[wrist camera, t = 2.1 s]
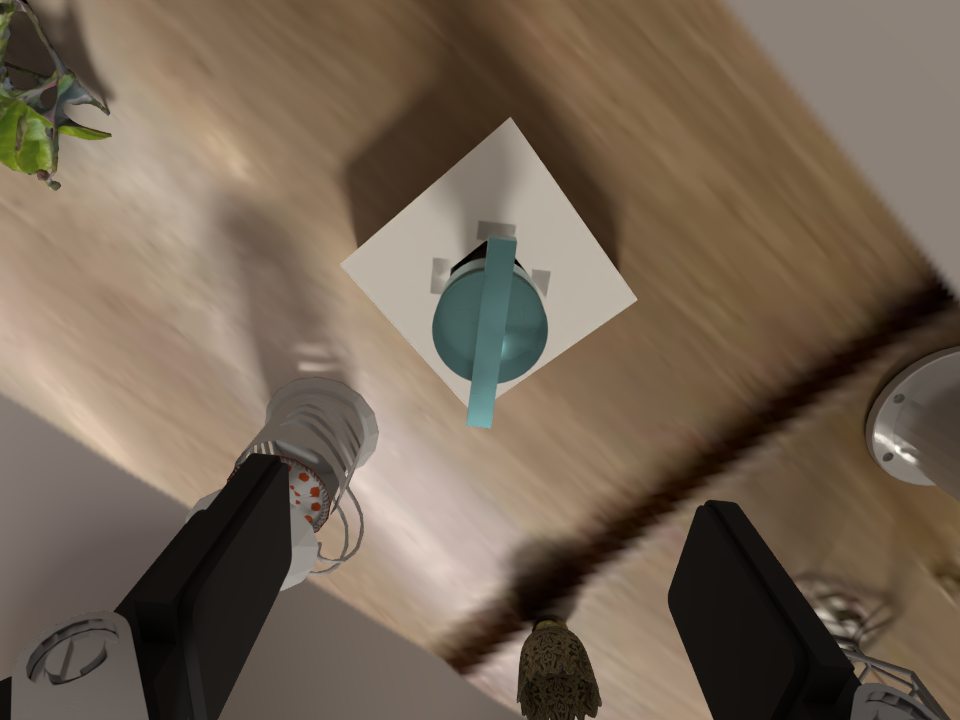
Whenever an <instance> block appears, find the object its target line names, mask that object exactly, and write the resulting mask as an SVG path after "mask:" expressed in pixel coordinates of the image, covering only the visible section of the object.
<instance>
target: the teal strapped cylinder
mask: <svg viewBox="0 0 960 720" xmlns="http://www.w3.org/2000/svg"><path fill="white" fill-rule="evenodd" d="M516 248H517V239H516V237H510V236H502V235H493V234H489V237H488V246H487V247H484V248H482V249H480V250H478V251H477V252H476V253H475V254H474V255H473V257H472V259H471V262H468V263H467V264H465V265H463V266H461V267H460V268H459V269H457V270H456V271H455V272H454V273H453V274H452V275H451V276H450V278H449V279H448V281H447V282H446V284H445V286H444V288H443V291H442V293H441V296H440V299H439V302H438V305H437V308H436V311H435V314H434V317H433V323H432V336H433V341H434V345H435V348H436V350H437V353H438V355H439V356H440V358H441V360H442V361H443V362H444V363H445V365H446V366H447V367H448V368H449V369H450V370H452V371H453V372H454V373H455V374H457V375H459V376H460V377H462V378H464V379H466V380H469V381H471V388H470V396H469V404H468V413H467V424H466V426H475V427H484V428H491V424H492V417H493V410H494V403H495V396H496V389H497V384H500V383H505V382H508V381H511V380H514V379H516V378H518V377H520V376H521V375H523V374H525V373H526V372H527V371H528V370H530V369H531V368H532V367H533V366H534V365H535V364H536V362H537V361H538V360H539V358H540V356H541V355H542V353H543V351H544V348H545V346H546V342H547V337H548V322H547V316H546V313H545V310H544V307H543V304H542V302H541V299H540V296H539V293H538V290H537V288H536V286H535V284H534V282H533V280H532V279H531V277H530V276H529V275H528V274H527V273H526V272H525V271H524V270H523V269H522V268H520V267H519V266H517V265H516V264H514V262H515V255H516Z"/></svg>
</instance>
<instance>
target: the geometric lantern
mask: <svg viewBox="0 0 960 720" xmlns="http://www.w3.org/2000/svg"><path fill="white" fill-rule="evenodd" d="M834 640H835V641H836V642H837V643H839V644H843V645H848V646H853V647H854V648H855V650H856V652H853V651H850V650H847V649H843V648H841V649H842V651H843V652H844V654H845V655H846V656H847V658H848V659H849V661H850V662H851V663H853V662H854V661H859V662H864V663H865V665H866V668H865V669H864V671H863V672H862V673H861V675H860V676H859V678H858V679H859V681H860V682H862V681H863V679H864V678H865V676H866V675H867V674H868V672H869V671H870V669H873V670H875V671H877V672H879V673H881V674H883V675H885V676H887V677H889V678H892V679H894V680H896V681H898V682H900V683H902V684H904V685H906V686H908V687H910V688H912V689H913V690H912V691H911V692H910V693H909V694H908V695H909V696H911V697H913V698H914V699H915V698H916V697H917V696H918V697H919V698H920V700H921V701H922V702H923V704H924V705H925V706H926V707H927V708H928V709H929V710H930V711H931V712H933V713H934V714H935V715H936V716H937V717H938V718H939V719H940V720H951V719H950V718H949V717H948V715H947V714H946V713H945V712H944V710H943V709H942V708H941V706H940V705H939V704H938V703H937V701H936V700H935V699H934V697H933V696H932V695H931V694H930V692H929V691H928V690H927V688H926V687H925V686H924V684H923V683H922V682H921V681H920V679H919V678H918V677H917V675H916V674H915V672H913V671H911V670H908V669H905V668H902V667H899V666H896V665H893V664H889V663H886V662H883V661H880V660H877V659H874V658H871V657H868V656H865V655H864V654H863V652H862V651H861V650H860V649H859V647H858V646H857V645H856V644H855V643H853V642H847V641H843V640H838V639H834ZM871 664H872V665H871ZM873 665H875V666H879V667H882V668H885V669H889V670H892V671H895V672H898V673H901V674H904V675H907V676H910V677H911V680H912V683H913V684H910V683H908V682H906V681H904V680H902V679H900V678H898V677H896V676H894V675H892V674H890V673H888V672H886V671H884V670H882V669H880V668H877V667H875V666H873Z"/></svg>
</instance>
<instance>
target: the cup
mask: <svg viewBox="0 0 960 720" xmlns="http://www.w3.org/2000/svg"><path fill="white" fill-rule="evenodd" d="M518 702H520V703H521V710H522V715H523V716H525V715H526V716H527V719H528V720H549V718H550V720H574V719H575V716H576V717H577V719H578V720H584V719H585V718H584V717H585V715H586V714H587V715H588V716H590V717H592V718H595V717H596V715H597V711H598V706H599V707H601V706H602V702H601V698H600V695H599V688H598V685H597V682H596V679H595V676H594V673H593V669H592V666H591V663H590V660H589V658H588V655H587V652H586V650H585V648H584V646H583V644H582V642H581V641H580V640H579V638H578V637H577V636H576V635H575V634H574V633H572V632H571V631H569V630H568V627H567V625H566V624H565V622H564V621H563V620H562V619H560V618H558V617H556V616H544V617H542V618H540V619H538V620H537V621H536V622H535V624H534V626H533V629H532V633H531V634H530V635H529V637H528V638H527V639H526V641H525V643H524V645H523V647H522V651H521V656H520V663H519V676H518V693H517V703H518Z"/></svg>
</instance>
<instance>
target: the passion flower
mask: <svg viewBox="0 0 960 720" xmlns="http://www.w3.org/2000/svg"><path fill="white" fill-rule="evenodd" d="M15 12H24V13H26V14H27V15H28V17H29V18H30V19H31V20H32V22H33V24H34V26H35V28H36V31H37V33H38V35H39V38H40V39H41V40H42V41H43V43H44V44H45V46H46V48H47V49H48V51H49V53H50V55H51V58H52V59H53V60H54V62H55V66H56V68H55V71H54V73H53V74H52V75H51V76H43V75H40V74H37V73H34V72H32V71H29V70H27V69H23V68H20V67H17V66H14V65H11V64H9V63H7V62H5V61H4V60H5V55H6V50H7V44H8V39H9V37H10V35H11V31H10V29H9V23H10V20H11V18H12V15H13V14H14V13H15ZM6 65H7V66H9V67H12V68H15V69H17V70H20V71H22V72H24V73H26V74H29V75H31V76H33V77H35V78H36V79H37V81H38V85H37V86H36V87H34V88H32V89H26V90H23V89H19V88H17V87H15V86H14V84H13V83H12V82H11V79H10V77H9V74H8V71H7V68H6ZM54 86H57V87H58V91H57V98H56V102H55V105H54V107H53V108H50V109H47V108H45V107H44V106H43V104H42V102H41V101H40V95H41V94H42V92H43V91H44V90H46V89H48V88H50V87H54ZM65 103H69V104H73V105H80V104H84V103H85V104H92V105H94V106H96V107H98V108H100V109H101V110H102V111H103V112H104V113H106V114H107V115H108V116H109V114H110V112H109V111H108V110H107V109H105V108H104V107H103V106H102V104H101V103H99V102H98V101H97V100H96V99H94V98H93V97H92V96H91V95H90V94H89V93H88V92H87V91H86V90H85V89H84V88H83V87H82V86H81V85H80V84H79V82H78V80H77V78H76V76H75V74H74V72H72V71H71V70H70V69H68V68H66V67H65V66H64V65H63V63H62V62H61V61H60V59H59V58H58V56H57V54H56V52H55V51H54V49H53V47H52V45H51V44H50V42H49V40H48V39H47V37H46V35H45V33H44V32H43V30H42V28H41V26H40V24H39V21H38V18H37V16H36V15H35V14H34V12H33V10H32V8H31V7H30V5H29V4H28V2H27V0H0V162H2V163H3V164H4V165H6V166H7V167H9V168H11V169H12V170H14V171H19V172H22V173H27V174H29V175H32V174H36V173H37V177H38V179H39V180H41V181H43V182H44V183H45V184H46V185H48V187H49V188H50V189H51V190H53V191H56V190H58V189H59V188H60V187H61V184H60V183H59V182H56V181H52V179H51V177H52V176H53V175H54V174H55V172H56V171H57V162H58V150H59V146H58V131H59V132H61V133H63V134H67V135H71V136H76V137H78V138H82V139H87V140H101V139H105V138H108V137H112V135H111V134H110V133H105V132H102V131H98V130H94V129H91V128H87V127H84V126H81V125H79V124H77V123H75V122H74V121H72V120H71V119H70V118H69V117H68V116H66V115H65V114H64V112H63V108H62V107H63V104H65ZM51 128H54V129H53V135H52V133H51ZM51 168H52V173H51V175H50V174H49V173H48V172H47V171H46V170H48V169H51Z"/></svg>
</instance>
